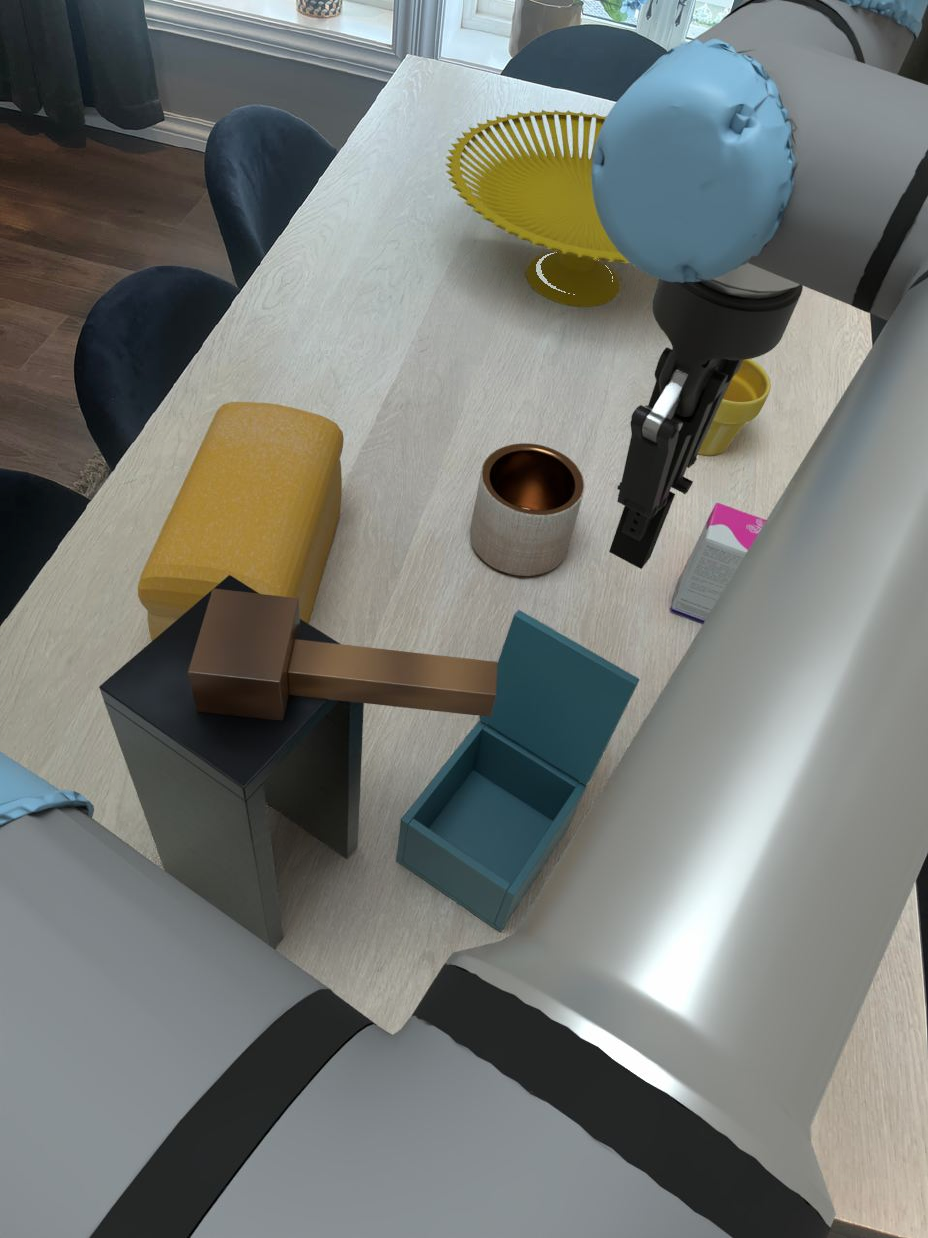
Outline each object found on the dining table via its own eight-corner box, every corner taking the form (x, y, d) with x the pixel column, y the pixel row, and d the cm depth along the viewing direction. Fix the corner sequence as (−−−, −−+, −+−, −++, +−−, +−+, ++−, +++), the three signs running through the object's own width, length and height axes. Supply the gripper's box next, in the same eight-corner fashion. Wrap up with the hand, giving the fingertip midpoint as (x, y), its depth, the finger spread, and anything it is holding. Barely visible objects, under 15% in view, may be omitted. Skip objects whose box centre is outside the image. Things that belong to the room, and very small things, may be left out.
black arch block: (271, 953, 72) (243, 789, 51) (165, 873, 75) (98, 686, 54) (358, 846, 78) (366, 659, 57) (257, 776, 81) (229, 573, 60)
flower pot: (757, 439, 117) (787, 376, 109) (717, 479, 112) (745, 415, 104) (688, 400, 120) (712, 336, 113) (646, 436, 115) (668, 371, 107)
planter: (448, 534, 101) (457, 469, 94) (518, 492, 106) (532, 428, 99) (518, 595, 97) (533, 532, 89) (587, 549, 102) (607, 485, 95)
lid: (636, 684, 66) (640, 678, 67) (513, 614, 69) (518, 609, 70) (586, 785, 74) (590, 779, 75) (478, 718, 77) (483, 713, 78)
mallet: (196, 712, 53) (187, 672, 50) (219, 629, 57) (212, 587, 54) (489, 743, 54) (498, 706, 51) (493, 660, 58) (502, 621, 55)
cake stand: (376, 269, 131) (380, 163, 120) (545, 180, 153) (563, 83, 141) (608, 405, 118) (638, 301, 106) (757, 288, 139) (796, 190, 128)
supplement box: (722, 631, 97) (762, 558, 88) (668, 612, 98) (701, 537, 89) (732, 593, 100) (771, 519, 91) (679, 574, 101) (713, 499, 92)
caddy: (500, 933, 75) (514, 896, 69) (395, 860, 77) (400, 819, 71) (568, 827, 81) (587, 785, 75) (469, 764, 84) (480, 718, 78)
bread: (228, 490, 102) (214, 378, 90) (344, 510, 102) (346, 400, 90) (154, 669, 86) (125, 563, 75) (290, 692, 86) (283, 590, 75)
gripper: (722, 191, 54) (624, 483, 73) (621, 284, 47) (541, 583, 65) (842, 239, 52) (711, 527, 71) (756, 344, 45) (635, 635, 63)
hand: (629, 554), depth 68 cm, fingers closed
